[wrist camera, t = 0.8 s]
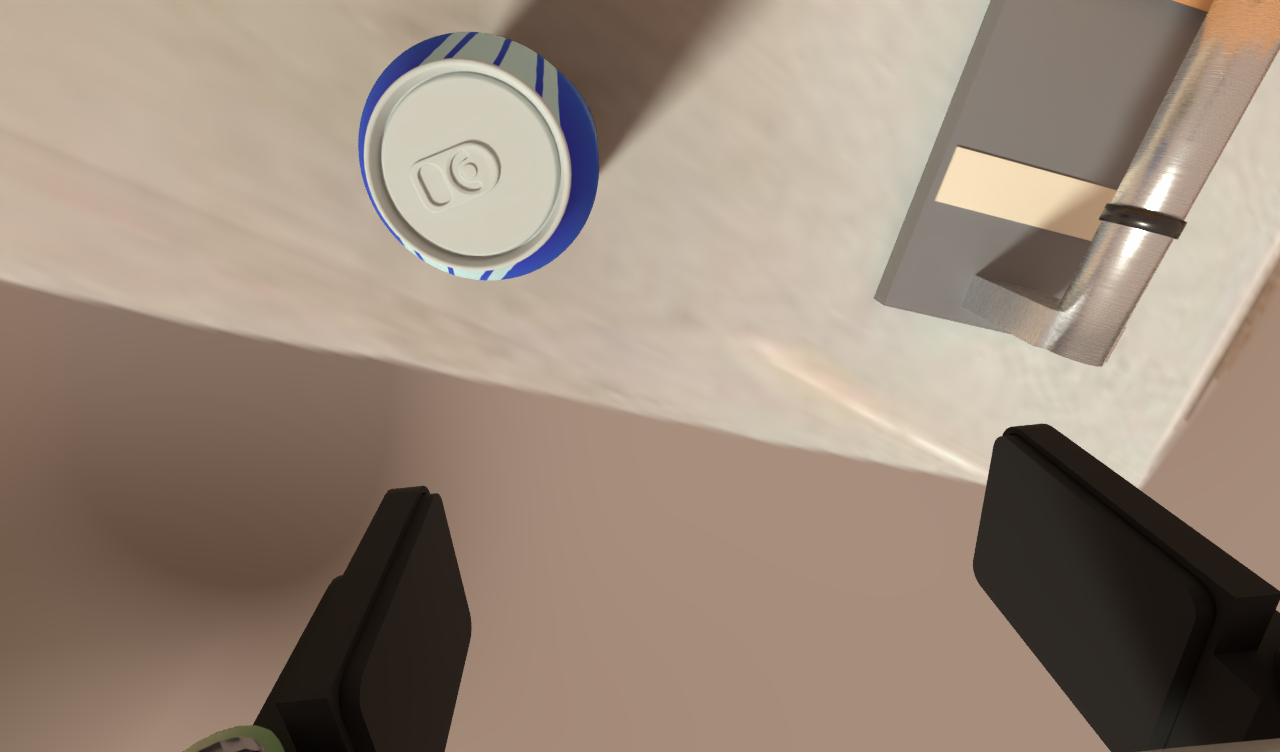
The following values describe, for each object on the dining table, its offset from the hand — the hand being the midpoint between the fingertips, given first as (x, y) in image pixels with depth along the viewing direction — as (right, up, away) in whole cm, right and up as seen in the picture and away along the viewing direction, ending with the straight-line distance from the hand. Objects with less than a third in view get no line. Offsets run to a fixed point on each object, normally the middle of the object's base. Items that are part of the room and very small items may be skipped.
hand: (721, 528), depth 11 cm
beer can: (-8, +16, +24) cm, 30 cm away
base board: (+23, +18, +25) cm, 39 cm away
